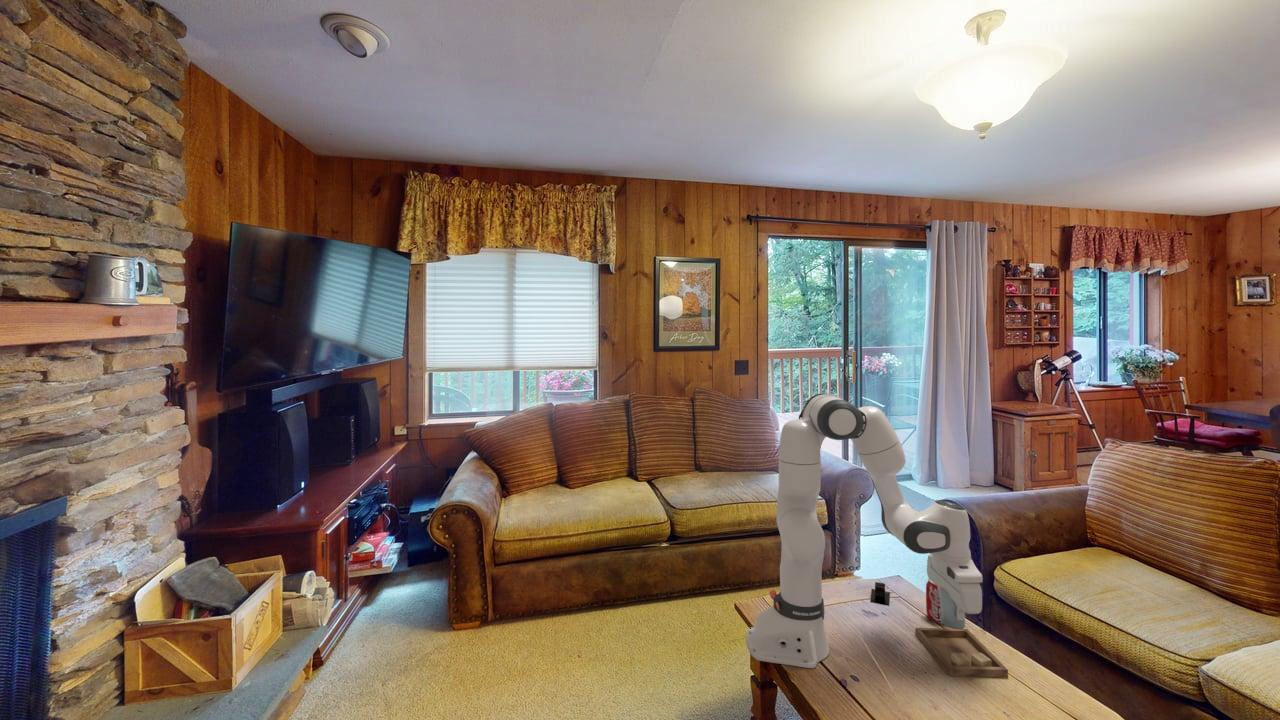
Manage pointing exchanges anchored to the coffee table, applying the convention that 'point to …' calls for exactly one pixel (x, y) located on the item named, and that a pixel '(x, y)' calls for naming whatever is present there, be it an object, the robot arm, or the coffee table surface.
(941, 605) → the glossy pale blue cylinder
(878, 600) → the black angled block
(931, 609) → the soda can
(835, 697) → the coffee table surface
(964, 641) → the tray
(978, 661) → the block
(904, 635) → the coffee table surface
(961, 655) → the block
